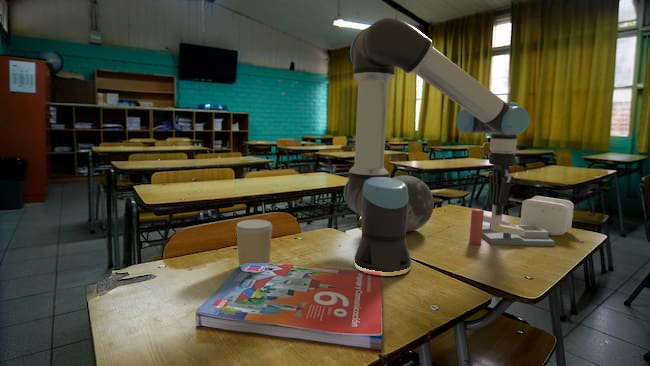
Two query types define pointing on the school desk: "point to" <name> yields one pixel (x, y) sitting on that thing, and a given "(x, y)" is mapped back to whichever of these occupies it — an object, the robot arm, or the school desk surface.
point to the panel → (518, 236)
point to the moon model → (417, 202)
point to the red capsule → (476, 226)
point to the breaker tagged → (508, 229)
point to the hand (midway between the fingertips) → (496, 223)
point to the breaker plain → (488, 220)
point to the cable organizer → (548, 214)
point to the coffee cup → (254, 241)
